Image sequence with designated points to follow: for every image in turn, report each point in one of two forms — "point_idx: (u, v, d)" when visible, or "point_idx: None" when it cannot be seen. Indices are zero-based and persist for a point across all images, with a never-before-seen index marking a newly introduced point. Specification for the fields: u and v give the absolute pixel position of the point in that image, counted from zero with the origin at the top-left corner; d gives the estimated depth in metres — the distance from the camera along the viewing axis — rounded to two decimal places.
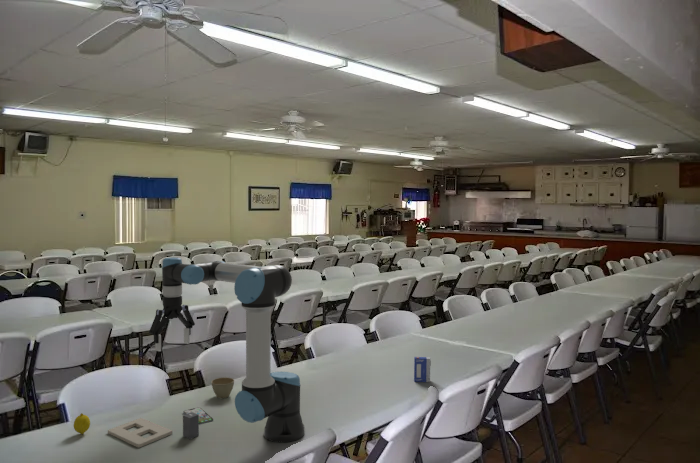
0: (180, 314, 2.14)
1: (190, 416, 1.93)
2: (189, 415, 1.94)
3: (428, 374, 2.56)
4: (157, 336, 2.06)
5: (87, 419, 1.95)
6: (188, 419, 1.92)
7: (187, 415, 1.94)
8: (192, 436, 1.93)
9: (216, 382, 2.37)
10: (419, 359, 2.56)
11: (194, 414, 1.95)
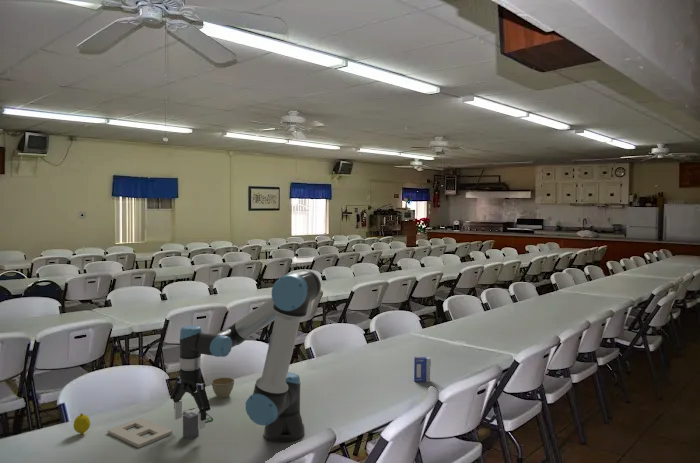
0: (190, 391, 1.91)
1: (190, 416, 1.93)
2: (189, 415, 1.94)
3: (428, 374, 2.56)
4: None
5: (87, 419, 1.95)
6: (188, 419, 1.92)
7: (187, 415, 1.94)
8: (192, 436, 1.93)
9: (216, 382, 2.37)
10: (419, 359, 2.56)
11: (194, 414, 1.95)
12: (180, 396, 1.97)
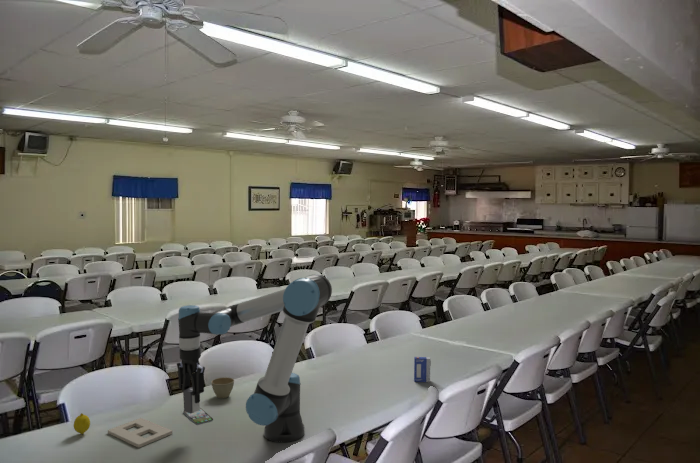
0: (189, 372, 1.91)
1: (191, 390, 1.93)
2: (190, 389, 1.93)
3: (428, 374, 2.56)
4: None
5: (87, 419, 1.95)
6: (189, 393, 1.92)
7: (188, 390, 1.94)
8: None
9: (216, 382, 2.37)
10: (419, 359, 2.56)
11: None
12: (187, 382, 1.95)
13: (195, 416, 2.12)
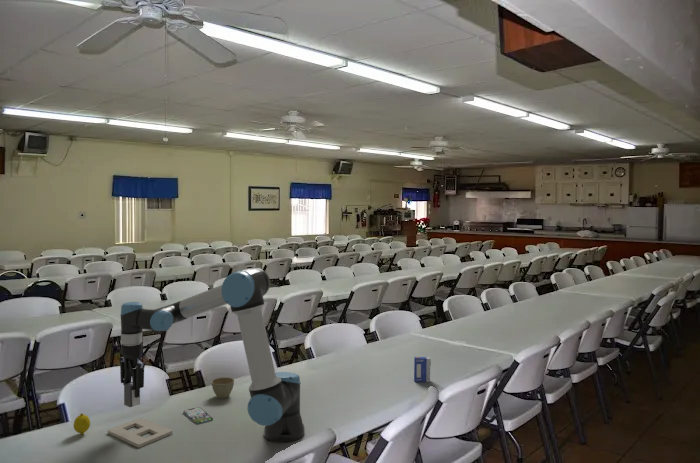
0: (130, 367, 1.95)
1: (131, 385, 1.97)
2: (130, 384, 1.98)
3: (428, 374, 2.56)
4: None
5: (87, 419, 1.95)
6: (129, 387, 1.96)
7: (128, 384, 1.98)
8: None
9: (216, 382, 2.37)
10: (419, 359, 2.56)
11: None
12: (128, 377, 1.99)
13: (195, 416, 2.12)
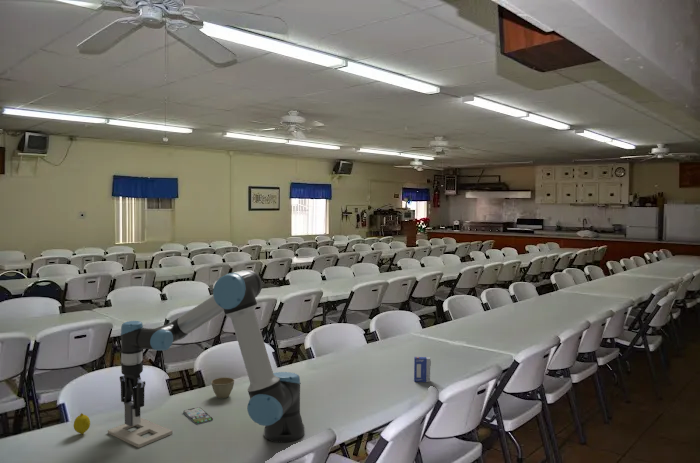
0: (130, 386, 1.96)
1: (131, 404, 1.97)
2: (131, 403, 1.98)
3: (428, 374, 2.56)
4: None
5: (87, 419, 1.95)
6: (129, 407, 1.96)
7: (129, 403, 1.98)
8: None
9: (216, 382, 2.37)
10: (419, 359, 2.56)
11: None
12: (129, 396, 2.00)
13: (195, 416, 2.12)
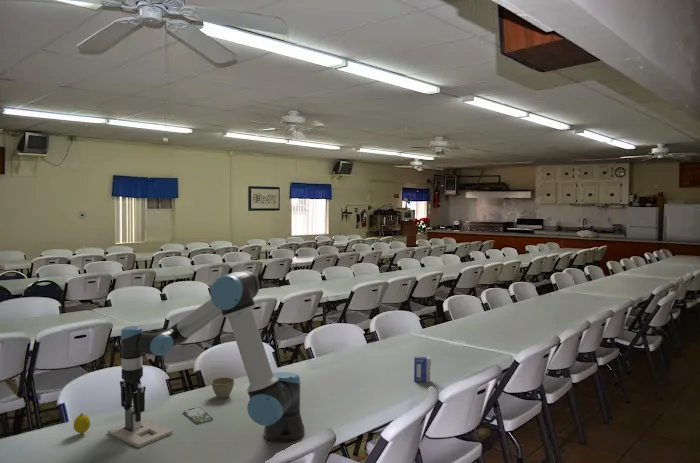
0: (130, 391, 1.96)
1: (132, 411, 1.97)
2: (131, 410, 1.98)
3: (428, 374, 2.56)
4: None
5: (87, 419, 1.95)
6: (129, 414, 1.96)
7: (129, 410, 1.98)
8: None
9: (216, 382, 2.37)
10: (419, 359, 2.56)
11: None
12: (129, 401, 2.00)
13: (195, 416, 2.12)
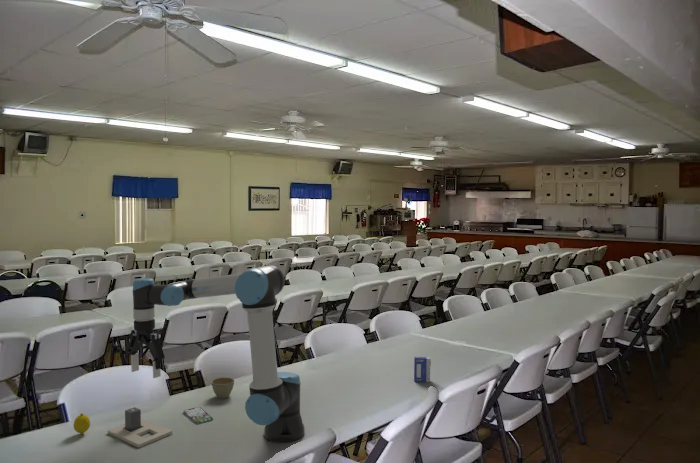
0: (145, 341, 1.97)
1: (132, 411, 1.97)
2: (131, 410, 1.98)
3: (428, 374, 2.56)
4: None
5: (87, 419, 1.95)
6: (129, 414, 1.96)
7: (129, 410, 1.98)
8: None
9: (216, 382, 2.37)
10: (419, 359, 2.56)
11: (136, 409, 1.99)
12: (136, 348, 2.03)
13: (195, 416, 2.12)
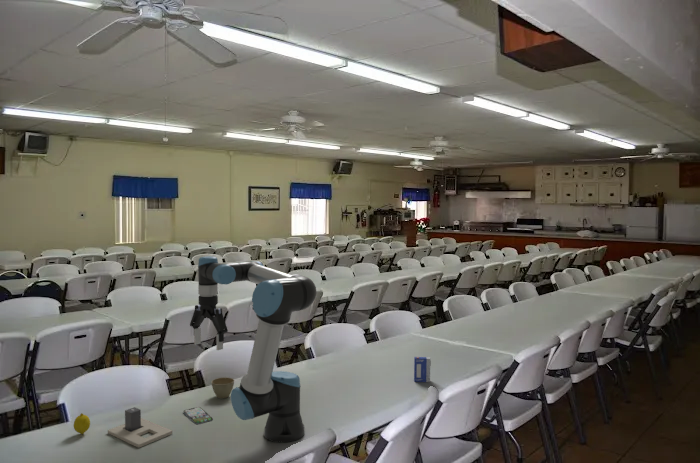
0: (209, 315, 2.08)
1: (132, 411, 1.97)
2: (131, 410, 1.98)
3: (428, 374, 2.56)
4: None
5: (87, 419, 1.95)
6: (129, 414, 1.96)
7: (129, 410, 1.98)
8: None
9: (216, 382, 2.37)
10: (419, 359, 2.56)
11: (136, 409, 1.99)
12: (199, 323, 2.14)
13: (195, 416, 2.12)
